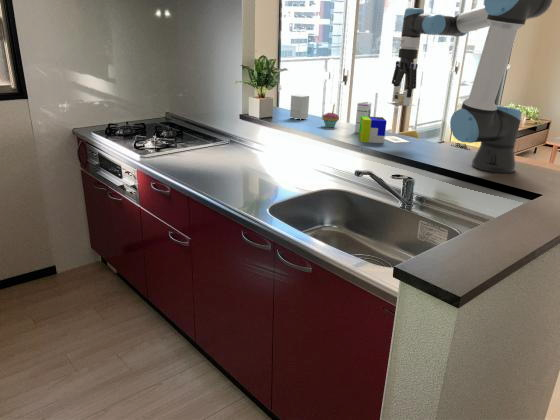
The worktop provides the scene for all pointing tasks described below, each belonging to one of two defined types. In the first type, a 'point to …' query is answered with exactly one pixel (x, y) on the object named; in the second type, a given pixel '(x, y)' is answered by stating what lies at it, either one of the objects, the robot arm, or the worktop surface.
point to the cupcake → (330, 118)
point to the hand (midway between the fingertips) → (400, 103)
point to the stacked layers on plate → (400, 99)
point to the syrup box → (362, 113)
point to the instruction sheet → (395, 139)
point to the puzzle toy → (372, 129)
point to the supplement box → (299, 106)
